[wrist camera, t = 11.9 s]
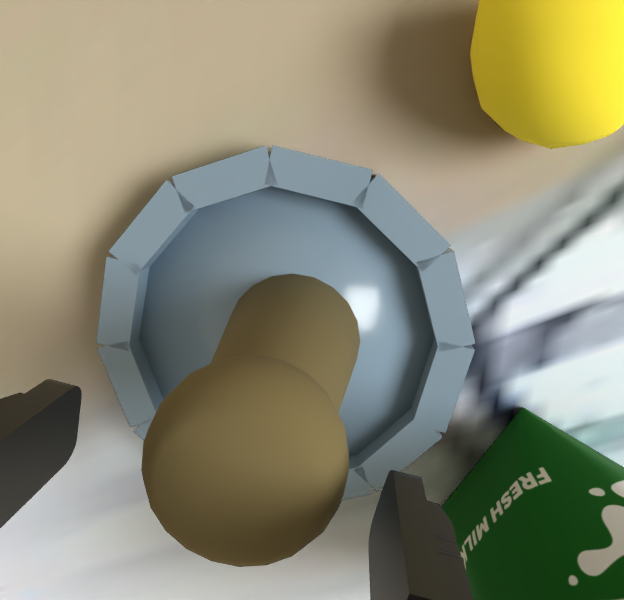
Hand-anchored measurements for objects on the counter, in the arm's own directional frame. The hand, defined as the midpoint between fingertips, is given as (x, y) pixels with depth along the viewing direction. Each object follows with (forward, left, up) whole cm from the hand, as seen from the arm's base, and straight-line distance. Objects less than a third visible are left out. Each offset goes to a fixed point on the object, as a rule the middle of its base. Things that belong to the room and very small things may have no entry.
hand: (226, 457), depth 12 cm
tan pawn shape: (0, 0, -10) cm, 10 cm away
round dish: (0, 0, -10) cm, 10 cm away
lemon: (-13, +7, -11) cm, 18 cm away
